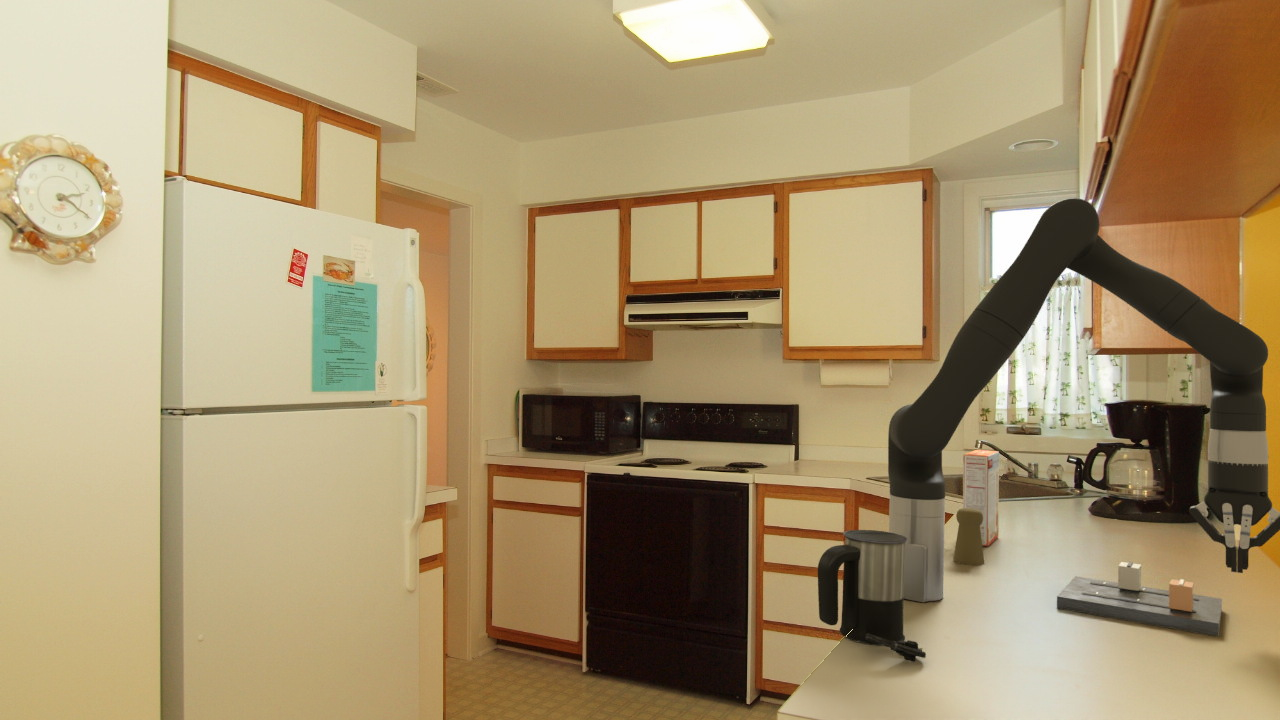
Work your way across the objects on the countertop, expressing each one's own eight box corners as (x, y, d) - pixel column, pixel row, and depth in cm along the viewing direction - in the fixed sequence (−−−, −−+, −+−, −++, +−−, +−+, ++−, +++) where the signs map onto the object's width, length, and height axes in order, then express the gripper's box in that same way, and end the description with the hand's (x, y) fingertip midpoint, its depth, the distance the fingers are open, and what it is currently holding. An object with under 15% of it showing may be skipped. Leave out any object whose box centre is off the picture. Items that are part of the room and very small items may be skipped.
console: (1218, 636, 122) (1218, 622, 122) (1056, 608, 136) (1057, 595, 136) (1221, 610, 137) (1221, 598, 137) (1075, 587, 150) (1075, 575, 150)
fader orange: (1191, 611, 127) (1192, 585, 127) (1169, 608, 129) (1169, 582, 129) (1193, 606, 130) (1193, 581, 130) (1170, 602, 132) (1171, 577, 132)
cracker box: (972, 534, 199) (974, 449, 199) (999, 537, 196) (1000, 450, 196) (960, 543, 187) (962, 453, 187) (988, 547, 184) (990, 455, 184)
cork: (987, 565, 165) (988, 511, 165) (956, 563, 167) (957, 510, 167) (981, 559, 171) (982, 507, 171) (950, 557, 172) (952, 505, 173)
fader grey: (1138, 590, 139) (1138, 567, 139) (1118, 587, 141) (1118, 564, 141) (1140, 586, 142) (1141, 563, 142) (1121, 583, 144) (1121, 560, 144)
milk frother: (863, 622, 125) (865, 526, 125) (961, 651, 113) (963, 544, 113) (806, 640, 116) (808, 536, 116) (905, 673, 104) (908, 557, 104)
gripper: (1184, 458, 127) (1184, 569, 126) (1293, 464, 119) (1293, 583, 118) (1187, 454, 133) (1186, 560, 132) (1291, 460, 125) (1290, 573, 124)
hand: (1237, 571), depth 125 cm, fingers closed
